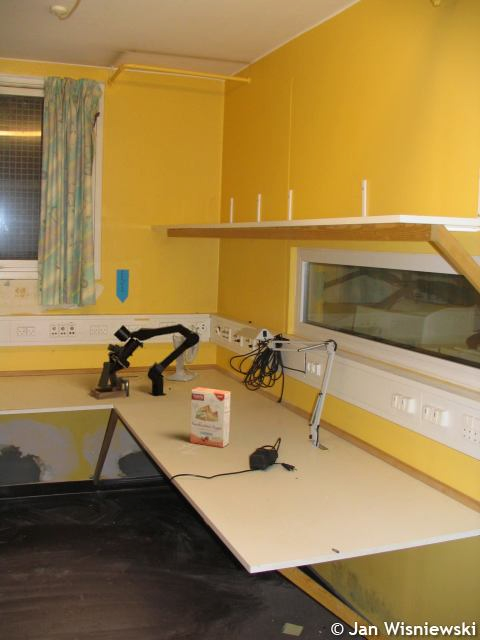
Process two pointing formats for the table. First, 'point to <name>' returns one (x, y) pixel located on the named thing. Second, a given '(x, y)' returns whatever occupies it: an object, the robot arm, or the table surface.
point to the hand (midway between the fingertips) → (107, 372)
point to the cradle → (112, 390)
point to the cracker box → (210, 417)
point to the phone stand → (108, 377)
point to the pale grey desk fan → (179, 372)
